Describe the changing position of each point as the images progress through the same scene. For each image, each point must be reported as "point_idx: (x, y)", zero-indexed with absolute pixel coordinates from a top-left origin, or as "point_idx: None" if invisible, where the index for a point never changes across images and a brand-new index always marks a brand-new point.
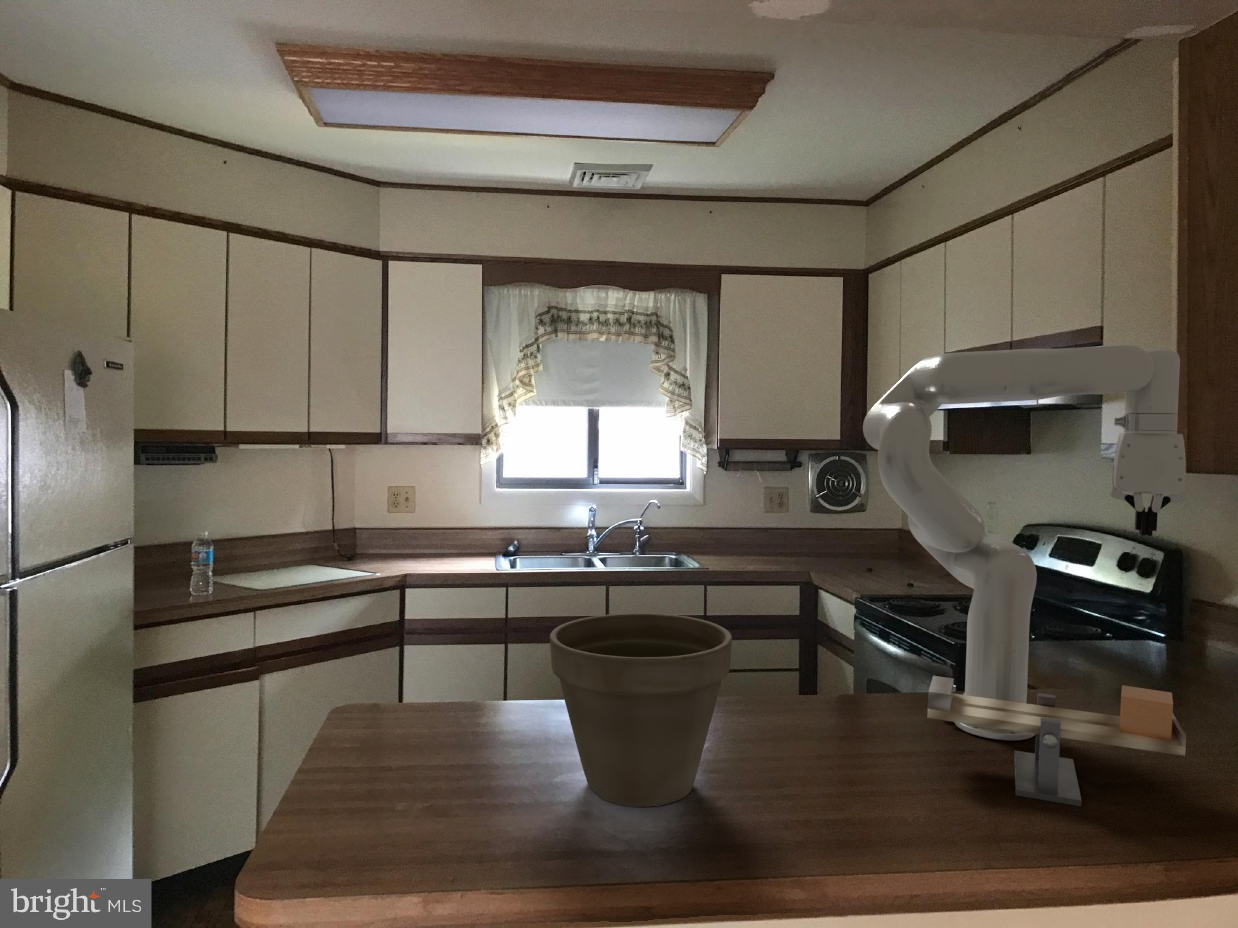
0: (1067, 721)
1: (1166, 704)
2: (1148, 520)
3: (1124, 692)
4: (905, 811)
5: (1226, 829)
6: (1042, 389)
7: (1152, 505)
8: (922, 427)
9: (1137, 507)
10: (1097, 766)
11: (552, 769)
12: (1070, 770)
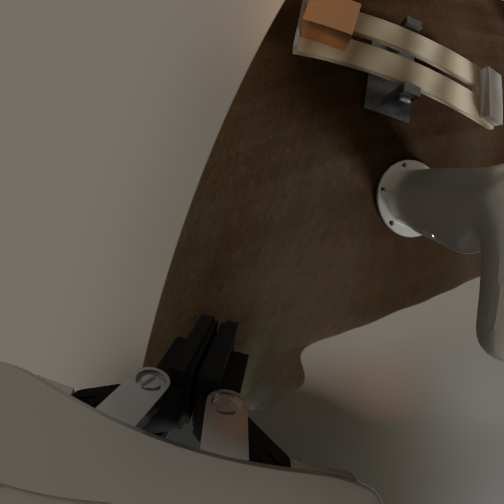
0: (395, 43)
1: None
2: (200, 351)
3: (355, 13)
4: (466, 34)
5: (278, 13)
6: None
7: (160, 396)
8: None
9: (236, 407)
10: (341, 107)
11: None
12: (371, 81)
